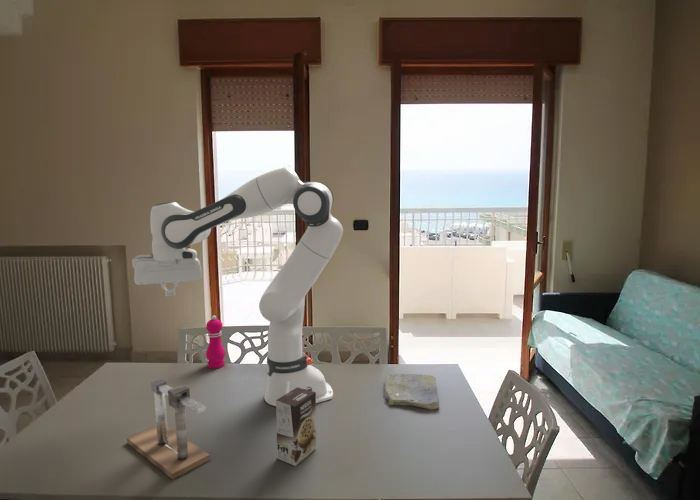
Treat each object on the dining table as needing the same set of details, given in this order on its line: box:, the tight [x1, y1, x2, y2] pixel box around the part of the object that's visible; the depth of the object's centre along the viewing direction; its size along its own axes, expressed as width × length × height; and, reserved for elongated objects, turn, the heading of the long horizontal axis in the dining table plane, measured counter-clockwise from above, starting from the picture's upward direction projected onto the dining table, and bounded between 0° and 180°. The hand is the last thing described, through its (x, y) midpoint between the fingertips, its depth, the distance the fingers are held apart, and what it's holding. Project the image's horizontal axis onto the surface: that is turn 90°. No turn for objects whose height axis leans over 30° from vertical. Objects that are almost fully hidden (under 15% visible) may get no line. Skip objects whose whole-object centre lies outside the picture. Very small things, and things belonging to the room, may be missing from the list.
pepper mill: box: [205, 315, 226, 370], centre depth 173 cm, size 7×7×20 cm
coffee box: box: [275, 387, 317, 467], centre depth 117 cm, size 9×6×16 cm
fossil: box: [383, 373, 440, 411], centre depth 150 cm, size 20×5×17 cm
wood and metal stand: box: [126, 384, 211, 480], centre depth 118 cm, size 24×10×20 cm, turn 50°
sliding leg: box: [150, 378, 207, 443], centre depth 113 cm, size 21×3×17 cm, turn 50°
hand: (170, 295), depth 145 cm, fingers closed
